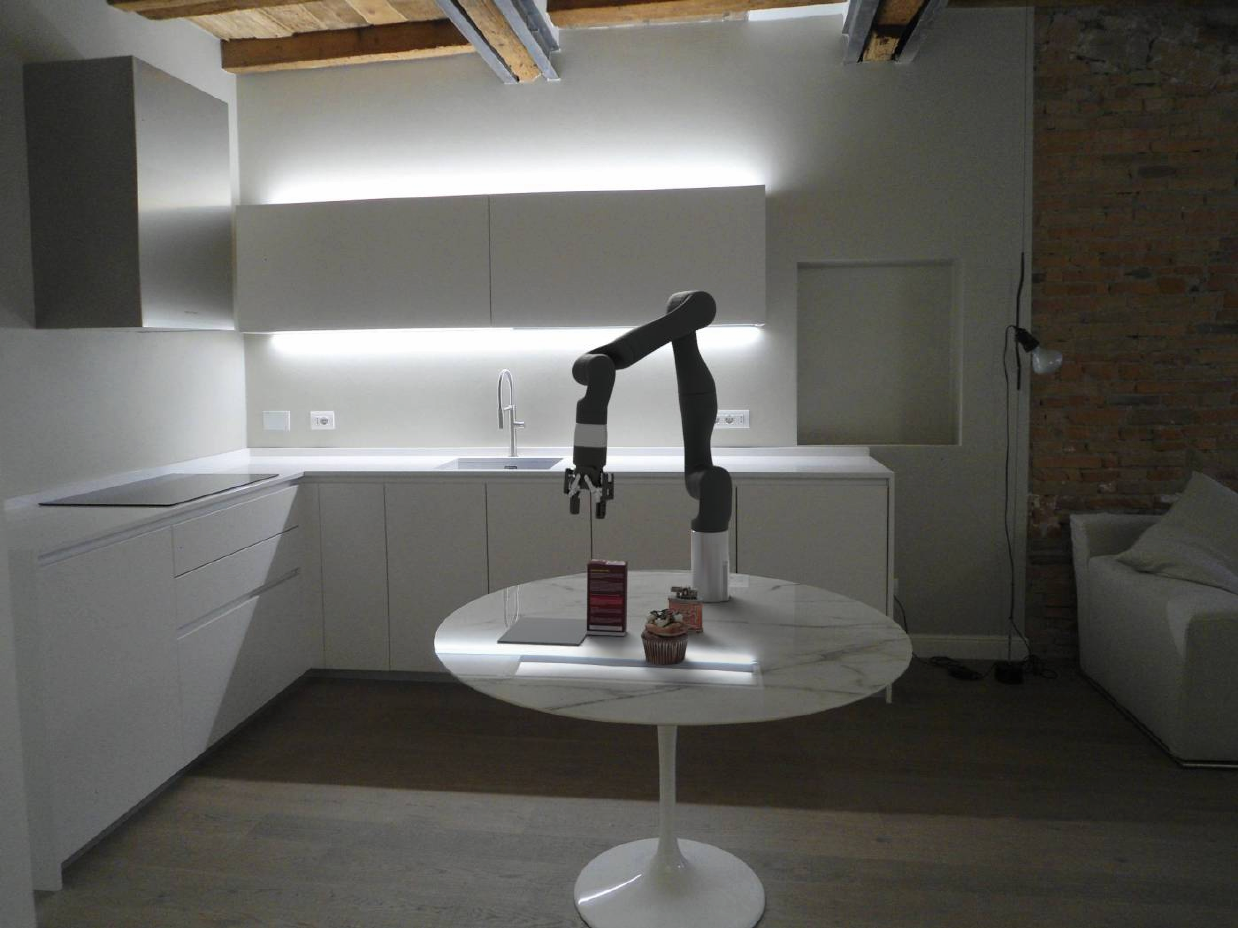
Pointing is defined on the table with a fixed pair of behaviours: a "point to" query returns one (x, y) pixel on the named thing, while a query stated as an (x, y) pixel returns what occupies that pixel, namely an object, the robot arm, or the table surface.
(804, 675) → the table surface
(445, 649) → the table surface
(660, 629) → the cupcake
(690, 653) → the table surface
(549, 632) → the mat
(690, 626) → the lighter
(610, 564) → the supplement box
